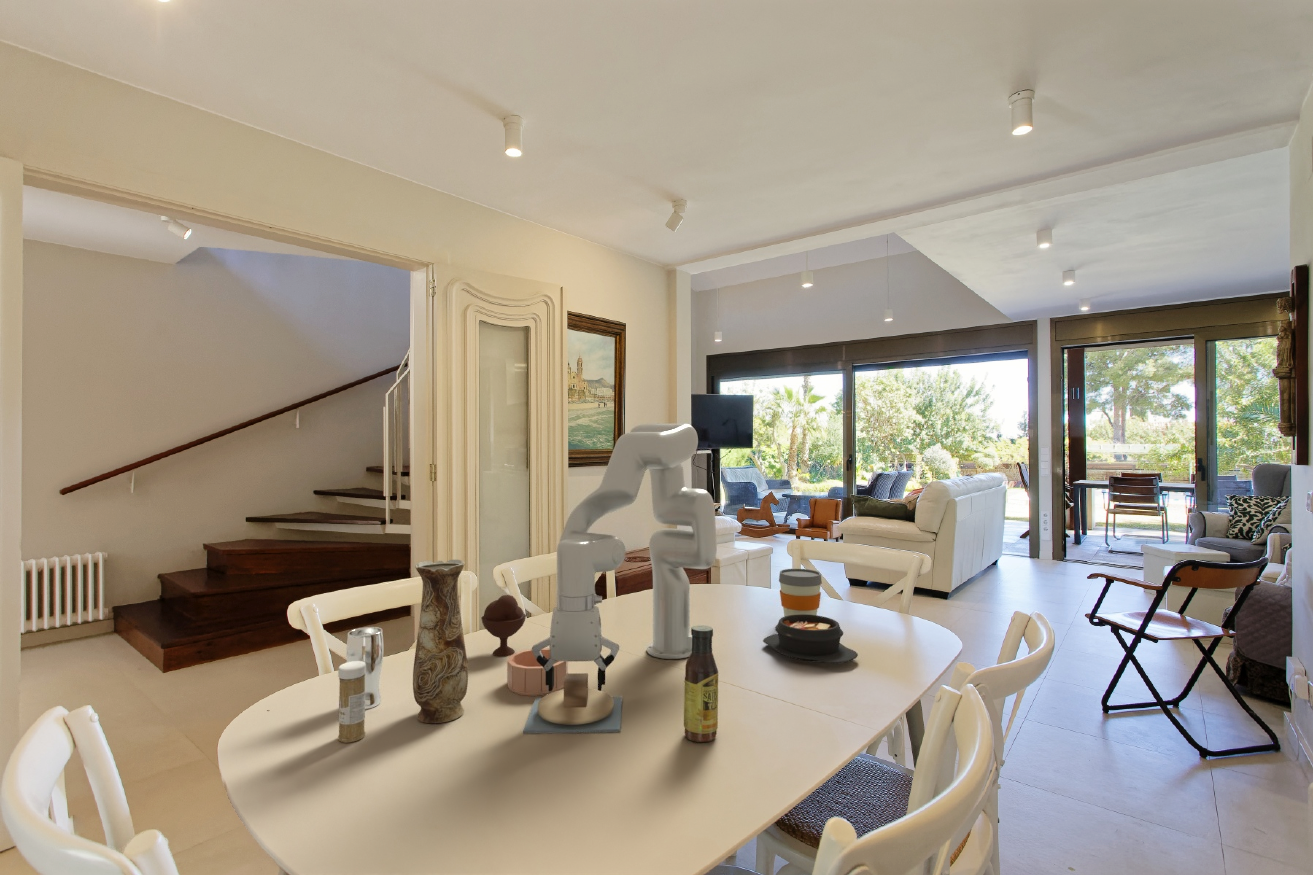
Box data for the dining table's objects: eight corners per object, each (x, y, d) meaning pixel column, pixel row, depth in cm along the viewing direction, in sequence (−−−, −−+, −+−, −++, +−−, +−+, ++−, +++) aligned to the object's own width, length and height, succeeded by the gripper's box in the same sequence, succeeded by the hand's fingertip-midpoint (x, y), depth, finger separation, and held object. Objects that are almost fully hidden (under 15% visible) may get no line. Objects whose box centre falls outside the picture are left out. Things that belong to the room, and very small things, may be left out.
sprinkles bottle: (334, 737, 117) (334, 664, 117) (360, 729, 120) (361, 658, 120) (342, 746, 113) (343, 670, 113) (369, 738, 116) (369, 664, 116)
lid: (615, 697, 134) (615, 663, 134) (612, 729, 119) (612, 691, 119) (543, 697, 133) (543, 664, 133) (531, 730, 118) (531, 692, 118)
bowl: (570, 673, 149) (570, 648, 149) (563, 695, 136) (563, 667, 136) (514, 674, 149) (514, 648, 149) (502, 696, 136) (502, 668, 136)
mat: (621, 699, 134) (621, 696, 134) (620, 731, 119) (620, 729, 119) (536, 700, 133) (536, 697, 133) (523, 733, 118) (523, 730, 118)
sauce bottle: (707, 747, 113) (708, 635, 113) (677, 738, 116) (677, 629, 116) (724, 733, 118) (724, 626, 119) (694, 725, 122) (694, 621, 122)
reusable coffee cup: (794, 614, 199) (794, 566, 199) (829, 622, 190) (829, 572, 190) (770, 622, 191) (770, 572, 191) (806, 631, 182) (806, 579, 182)
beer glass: (390, 699, 133) (391, 628, 134) (365, 713, 127) (365, 638, 127) (364, 695, 136) (364, 625, 136) (338, 708, 129) (338, 634, 129)
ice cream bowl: (530, 646, 168) (530, 589, 168) (516, 661, 157) (517, 600, 157) (491, 645, 169) (491, 588, 169) (475, 659, 158) (475, 599, 158)
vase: (416, 729, 120) (416, 570, 120) (409, 708, 129) (410, 561, 129) (472, 718, 124) (473, 565, 125) (462, 699, 134) (462, 556, 134)
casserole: (747, 649, 166) (747, 617, 166) (792, 635, 178) (792, 605, 178) (829, 677, 147) (829, 640, 147) (872, 659, 159) (873, 625, 159)
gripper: (619, 597, 130) (619, 680, 130) (535, 597, 130) (534, 681, 130) (618, 606, 123) (618, 695, 123) (528, 607, 122) (528, 696, 122)
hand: (575, 688), depth 126 cm, fingers open, 9 cm apart
